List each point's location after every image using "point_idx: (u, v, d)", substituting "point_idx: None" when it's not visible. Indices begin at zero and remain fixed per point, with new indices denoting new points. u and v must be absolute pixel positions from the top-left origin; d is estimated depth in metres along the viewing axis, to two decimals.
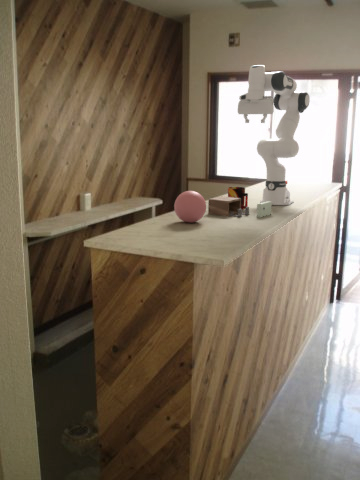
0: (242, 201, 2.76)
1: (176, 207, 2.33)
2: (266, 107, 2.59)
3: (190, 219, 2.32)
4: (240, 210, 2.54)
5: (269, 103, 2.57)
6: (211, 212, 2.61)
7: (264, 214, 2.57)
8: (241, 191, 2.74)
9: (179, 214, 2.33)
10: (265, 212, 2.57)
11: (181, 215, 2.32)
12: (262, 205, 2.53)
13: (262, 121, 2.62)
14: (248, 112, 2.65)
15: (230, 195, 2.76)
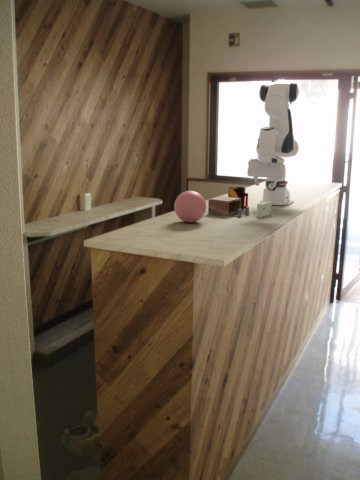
0: (242, 201, 2.76)
1: (176, 207, 2.33)
2: None
3: (190, 219, 2.32)
4: (240, 210, 2.54)
5: None
6: (211, 212, 2.61)
7: (264, 214, 2.57)
8: (241, 191, 2.74)
9: (179, 214, 2.33)
10: (265, 212, 2.57)
11: (181, 215, 2.32)
12: (262, 205, 2.53)
13: None
14: None
15: (230, 195, 2.76)
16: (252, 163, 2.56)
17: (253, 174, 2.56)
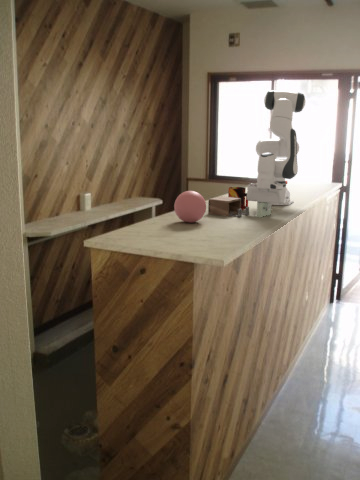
0: (242, 201, 2.76)
1: (176, 207, 2.33)
2: None
3: (190, 219, 2.32)
4: (240, 210, 2.54)
5: None
6: (211, 212, 2.61)
7: (264, 214, 2.57)
8: (241, 191, 2.74)
9: (179, 214, 2.33)
10: (265, 212, 2.57)
11: (181, 215, 2.32)
12: (262, 205, 2.53)
13: None
14: None
15: (230, 195, 2.76)
16: (251, 188, 2.58)
17: (252, 198, 2.59)
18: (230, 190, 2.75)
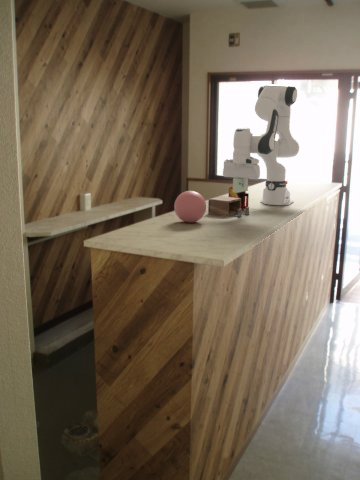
0: (243, 201, 2.76)
1: (176, 207, 2.33)
2: None
3: (190, 219, 2.32)
4: (240, 210, 2.54)
5: None
6: (211, 212, 2.61)
7: (240, 189, 2.54)
8: None
9: (179, 214, 2.33)
10: (242, 187, 2.55)
11: (181, 215, 2.32)
12: (238, 180, 2.51)
13: None
14: None
15: (231, 195, 2.75)
16: (227, 164, 2.56)
17: (228, 174, 2.57)
18: (230, 190, 2.75)
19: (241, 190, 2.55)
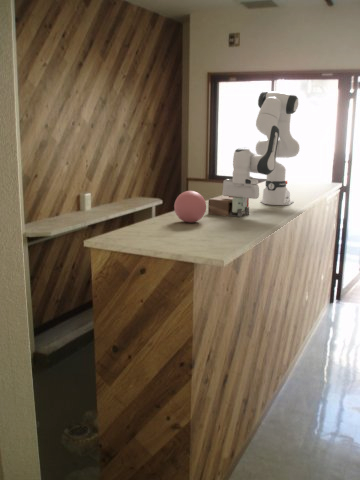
0: None
1: (176, 207, 2.33)
2: None
3: (190, 219, 2.32)
4: (240, 210, 2.54)
5: None
6: (211, 212, 2.61)
7: None
8: None
9: (179, 214, 2.33)
10: (241, 207, 2.57)
11: (181, 215, 2.32)
12: (237, 200, 2.53)
13: None
14: None
15: None
16: (227, 183, 2.58)
17: (227, 194, 2.59)
18: None
19: None
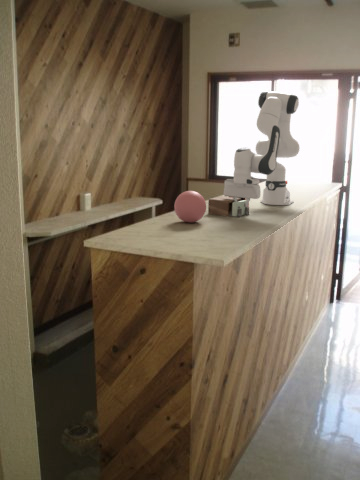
0: None
1: (176, 207, 2.33)
2: None
3: (190, 219, 2.32)
4: (240, 210, 2.54)
5: None
6: (211, 212, 2.61)
7: None
8: None
9: (179, 214, 2.33)
10: None
11: (181, 215, 2.32)
12: (237, 204, 2.53)
13: None
14: None
15: None
16: (228, 183, 2.58)
17: (229, 194, 2.59)
18: None
19: None
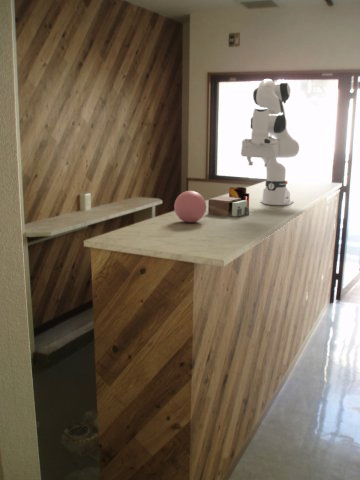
0: None
1: (176, 207, 2.33)
2: None
3: (190, 219, 2.32)
4: (240, 210, 2.54)
5: None
6: (211, 212, 2.61)
7: None
8: (242, 191, 2.73)
9: (179, 214, 2.33)
10: None
11: (181, 215, 2.32)
12: (237, 204, 2.53)
13: None
14: None
15: (231, 195, 2.75)
16: (246, 143, 2.61)
17: (246, 154, 2.62)
18: (231, 190, 2.75)
19: None
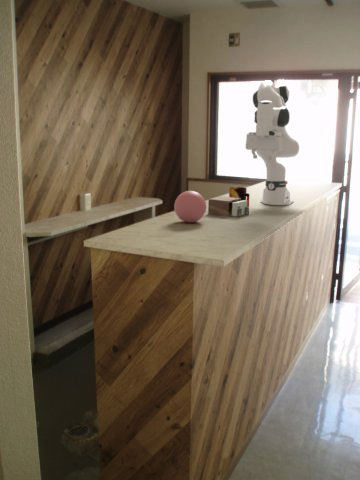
0: None
1: (176, 207, 2.33)
2: None
3: (190, 219, 2.32)
4: (240, 210, 2.54)
5: None
6: (211, 212, 2.61)
7: None
8: (242, 191, 2.73)
9: (179, 214, 2.33)
10: None
11: (181, 215, 2.32)
12: (237, 204, 2.53)
13: None
14: None
15: (231, 195, 2.75)
16: (250, 136, 2.62)
17: (251, 147, 2.63)
18: (231, 190, 2.75)
19: None
